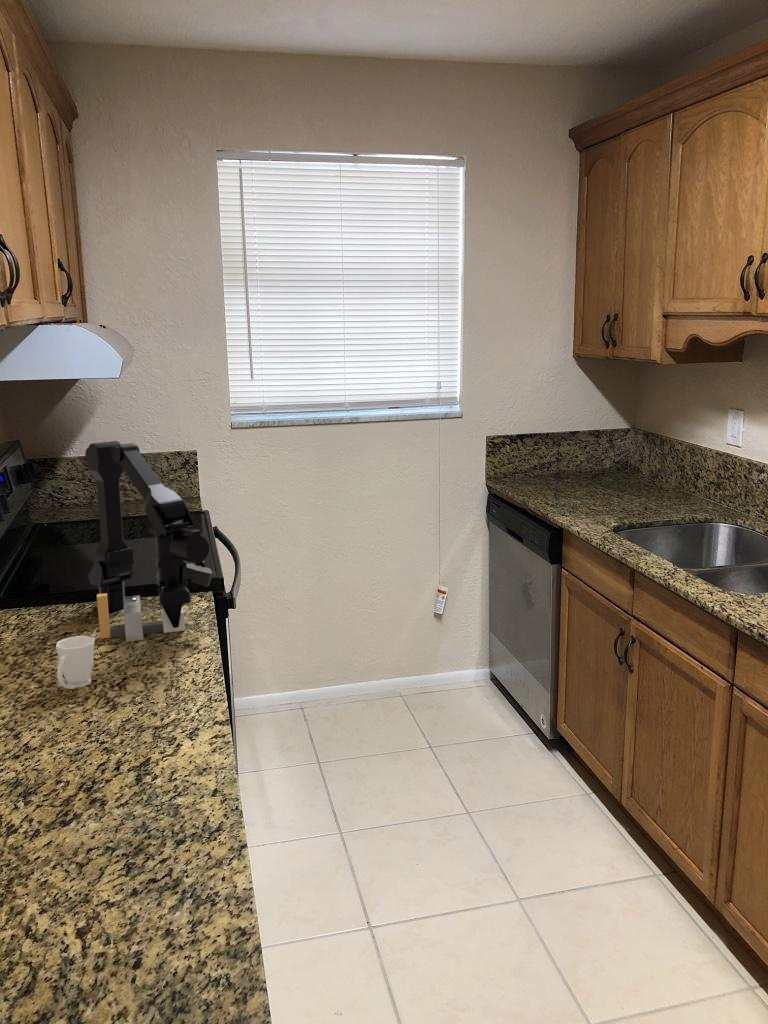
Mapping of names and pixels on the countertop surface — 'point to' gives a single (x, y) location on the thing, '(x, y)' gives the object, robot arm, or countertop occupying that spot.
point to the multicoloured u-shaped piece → (119, 630)
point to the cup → (75, 661)
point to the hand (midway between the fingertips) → (175, 624)
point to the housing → (133, 618)
